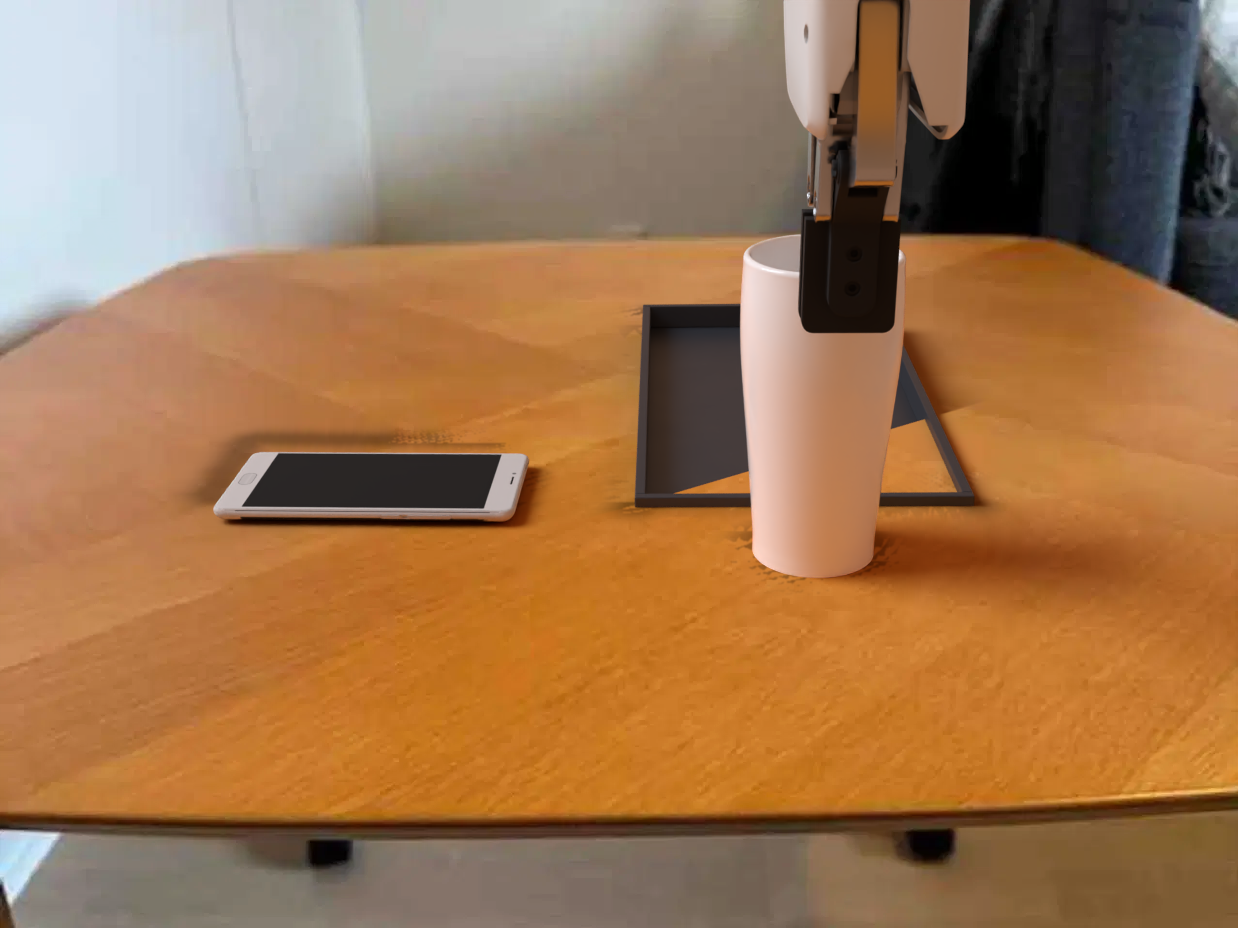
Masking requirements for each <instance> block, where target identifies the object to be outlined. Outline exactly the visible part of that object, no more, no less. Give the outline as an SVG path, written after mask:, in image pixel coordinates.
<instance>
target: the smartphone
mask: <svg viewBox="0 0 1238 928" xmlns="http://www.w3.org/2000/svg"><path fill="white" fill-rule="evenodd" d="M529 463H530V458H529V456H528V455H527V454H525V453H509V452H508V453H506V452H505V453H500V452H497V453H495V452H494V453H493V452H492V453H489V452H486V453H485V452H484V453H483V452H480V453H479V452H323V451H322V452H321V451H320V452H319V451H318V452H317V451H316V452H315V451H314V452H313V451H312V452H311V451H310V452H309V451H308V452H307V451H306V452H305V451H297V452H296V451H293V452H292V451H289V452H288V451H258V452H256V453H253V454H251V455H250V457H249V458H248V460H246V462H245V464H243V466H242V467H241V469H240V470H239V471H238V473H237V474H236V476H234V478H233V480H232V481H231V483H230V484H229V485H228V486H227V487H226V489H225V491H224V492H223V493H222V495H221V496H220V497H219V499H218V500H217V502H216V503H215V504H214V505H213V509H212V510H213V513H214V515H215V516H216V517H217V518H219V519H221V520H277V521H278V520H279V521H280V520H284V521H286V520H291V521H292V520H295V521H298V520H299V521H311V520H313V521H406V522H407V521H415V522H506V521H509V520H510V519H512V518H513V516H514V515H515V513H516V509H517V507H518V503H519V499H520V496H521V492H522V488H523V486H524V482H525V479H526V475H527V470H528V467H529Z"/></svg>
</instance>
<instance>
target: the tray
mask: <svg viewBox="0 0 1238 928" xmlns="http://www.w3.org/2000/svg"><path fill="white" fill-rule="evenodd" d="M740 306H741V303H677V304H676V303H672V304H671V303H670V304H669V303H668V304H667V303H665V304H664V303H663V304H662V303H661V304H660V303H659V304H642V317H641V342H640V366H639V387H638V389H639V390H638V410H637V411H638V413H637V433H636V434H637V437H636V456H635V457H636V458H635V479H634V480H635V482H634V483H635V484H634V508H636V509H637V508H751V499H750V492H717V493H716V492H714V493H711V492H710V493H709V492H708V493H707V492H705V493H703V492H701V493H699V492H697V493H693V492H692V493H680V492H684V491H687V490H690V489H694V488H698V487H701V486H704V485H708V484H710V483H714V482H717V481H721V480H724V479H727V478H730V477H735V476H739V475H741V474H743V473H747V472H748V473H749V469H748V454H747V440H746V427H745V413H744V400H743V386H742V371H741V353H740ZM930 400H931V399H930V398H929V397H928V394H927V392H926V390H925V387H924V385H923V383H922V381H921V379H920V377H919V374H918V373H917V370H916V369H915V366H914V364H913V362H912V360H911V358H910V356H909V353H908V351H907V349H906V347H905V345H904V344H903V347H902V356H901V364H900V372H899V379H898V385H897V392H896V398H895V405H894V411H893V417H892V424H891V430H893V429H897V428H899V427H904V426H906V425H910V424H913V423H917V422H920V421H923V420H924V421H925V423H926V426H927V428H928V430H929V432H930V434H931V437H932V438H933V441H934V443H935V445H936V448H937V450H938V453H939V455H940V457H941V459H942V462H943V463H944V466H945V468H946V470H947V472H948V475H949V477H950V479H951V482H952V484H953V486H954V488H955V490H956V491H937V492H936V491H930V492H929V491H926V492H925V491H924V492H923V491H918V492H912V491H911V492H909V491H908V492H907V491H905V492H904V491H902V492H901V491H900V492H897V491H896V492H895V491H893V492H890V491H889V492H881V496H880V503H879V507H974V506H975V494H974V492H973V490H972V488H971V486H970V483H969V481H968V479H967V477H966V475H965V473H964V471H963V469H962V467H961V464H960V462H959V460H958V458H957V455H956V453H955V452H954V449H953V447H952V444H951V443H950V441H949V439H948V436H947V435H946V432H945V430H944V428H943V426H942V424H941V421H940V420H939V418H938V416H937V413H936V411H935V408H934V407H933V404H932V402H931V401H930Z"/></svg>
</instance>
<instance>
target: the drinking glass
mask: <svg viewBox="0 0 1238 928" xmlns="http://www.w3.org/2000/svg"><path fill="white" fill-rule="evenodd" d="M800 242H801V233H799V234H788V235H782V236H777V237H771V238H767V239H764V240H761V241H758V242H755V243H753V244H751V245H750V246H749V247H747V248H746V250H745V251H744V253H743V256H742V272H741V286H740V304H741V306H740V353H741V371H742V386H743V400H744V413H745V427H746V440H747V454H748V469H749V471H748V481H749V493H750V499H751V507H750V512H751V513H750V514H751V530H752V533H751V534H752V541H751V551H752V554H753V556H754V558H755V559H756V560H757V561H758V562H759V563H760V564H762V565H763V566H765V567H767V568H769V569H771V570H773V571H776V572H778V573H781V574H784V575H789V576H793V577H800V578H808V579H810V578H811V579H825V578H826V579H827V578H835V577H836V578H837V577H842V576H846V575H849V574H854V573H855V572H858V571H860V570H862V569H864V568H865V567H866V566H868V565H869V564H870V563H871V562H872V560H873V558H874V551H875V539H876V538H875V536H876V529H877V523H878V517H879V516H878V515H879V509H880V506H879V503H880V496H881V493H882V487H883V482H884V474H885V469H886V462H887V455H888V449H889V442H890V436H891V430H892V429H891V424H892V417H893V411H894V405H895V398H896V392H897V385H898V379H899V372H900V364H901V356H902V347H903V345H904V338H905V337H904V334H905V321H906V302H907V301H906V299H907V298H906V297H907V296H906V295H907V257H906V254H905V253H904V251H903V250H902V249H900V248H899V263H898V278H897V294H896V309H895V323H894V326H893V328H892V329H891V330H890V331H888V332H886V333H809V332H807V331H806V330H805V329H804V328H803V326H802V323H801V318H800V316H799V313H798V295H799V268H800Z"/></svg>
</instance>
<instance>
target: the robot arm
mask: <svg viewBox="0 0 1238 928" xmlns="http://www.w3.org/2000/svg"><path fill="white" fill-rule="evenodd" d="M970 5H971V0H783V38H784V59H785V61H784V62H785V77H786V89H787V95H788V99H789V100H790V103H791V105H792V107H793V110H794V112H795V114H796V116H797V118H798V120H799V121H800V123H801V125H802V126H803V128H804V129H805V130H806V131H807V166H806V167H807V170H806V171H807V172H806V173H807V174H806V204H807V208H802V209H801V217H800V218H801V219H800V220H801V221H800V234H801V242H800V268H799V295H798V313H799V316H800V318H801V323H802V326H803V328H804V329H805V330H806V331H807V332H809V333H886V332H888V331H890V330H891V329H892V328H893V326H894V323H895V309H896V294H897V278H898V263H899V249H900V248H901V247H900V246H901V230H902V218H901V217H900V208H901V196H902V186H903V174H904V164H905V152H906V143H907V132H908V131H907V129H908V120H909V110H910V111H911V112H912V113H913V114H914V115H915V117H916V118H917V119H918V120H919V121H920V122H921V123H922V124H923V126H925V128H927V129H928V131H929V132H930V133H931V134H932V135H933V136H934V137H935V138H936V139H938V140H950V139H951V138H953V137H954V136H955V135H956V134H957V133H958V132H959V130H961V128H962V127H963V126H964V123H965V119H966V106H967V105H966V103H967V84H968V83H967V82H968V59H969V58H968V57H969V56H968V55H969V33H970V31H969V29H970Z"/></svg>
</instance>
